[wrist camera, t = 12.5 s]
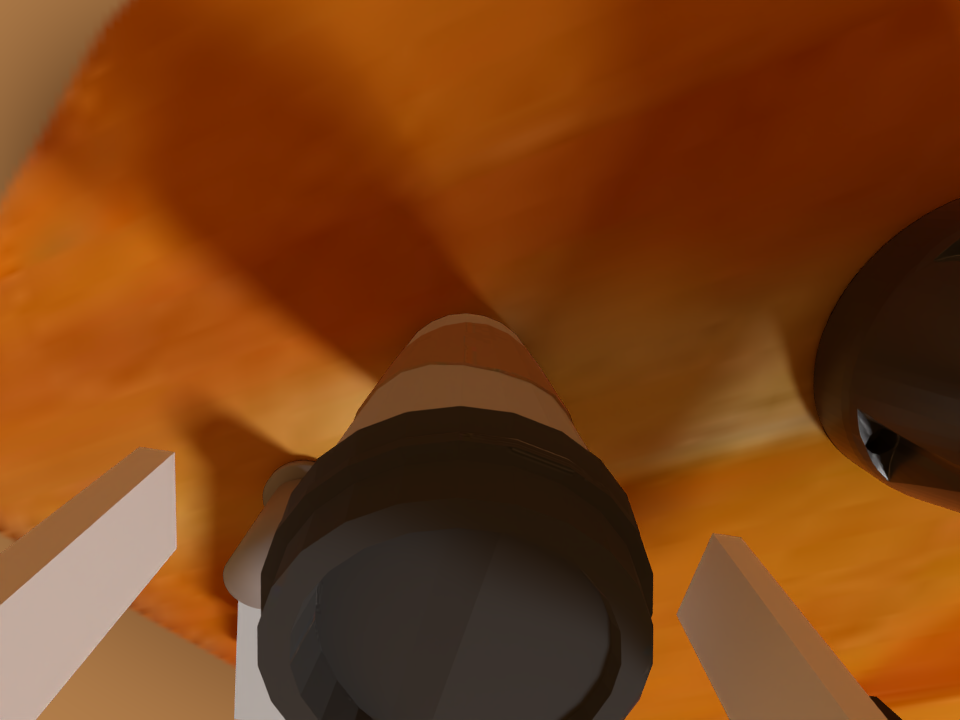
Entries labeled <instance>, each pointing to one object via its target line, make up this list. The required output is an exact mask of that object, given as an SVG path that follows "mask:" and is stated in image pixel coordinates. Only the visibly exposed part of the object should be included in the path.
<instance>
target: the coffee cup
mask: <svg viewBox="0 0 960 720" xmlns="http://www.w3.org/2000/svg"><path fill="white" fill-rule="evenodd" d="M652 614H653V572H652V569H651V566H650V563H649V560H648V558H647V555H646V552H645V549H644V546H643V543H642V540H641V537H640V532H639V530H638V527H637V524H636V521H635V518H634V515H633V512H632V509H631V506H630V503H629V500H628V497H627V495H626V493H625V492H624V491H623V489H622V488H621V487H620V485H619V484H618V483H617V481H616V480H615V479H614V477H613V476H612V475H611V473H610V472H609V471H608V469H607V468H606V467H605V465H604V464H603V463H602V461H601V460H600V459H599V458H597V457H596V456H595V455H593V454H592V453H590V452H589V450H588V449H587V447H586V445H585V444H584V442H583V440H582V439H581V437H580V436H579V434H578V432H577V431H576V429H575V427H574V425H573V422H572V419H571V416H570V414H569V412H568V410H567V409H566V407H565V406H564V404H563V403H562V401H561V400H560V398H559V396H558V395H557V393H556V392H555V390H554V389H553V387H552V385H551V384H550V382H549V381H548V379H547V378H546V376H545V374H544V373H543V371H542V370H541V368H540V367H539V365H538V364H537V362H536V361H535V360H534V358H533V357H532V356H531V354H530V353H529V352H528V350H527V349H526V348H525V346H524V345H523V344H522V342H521V341H520V340H519V338H518V337H517V336H516V334H515V333H514V332H512V331H511V330H510V329H508V328H507V327H506V326H504V325H503V324H502V323H500V322H498V321H495V320H493V319H490V318H488V317H486V316H481V315H474V314H468V313H465V314H455V315H448V316H445V317H443V318H440V319H437V320H435V321H432V322H431V323H429V324H428V325H426V326H425V327H424V328H422V329H421V330H420V331H418V332H417V333H416V335H415V336H414V337H413V338H412V340H411V341H410V342H409V344H408V345H407V346H406V347H405V348H404V349H403V350H402V351H401V353H400V354H399V355H398V357H397V358H396V359H395V360H394V362H393V363H392V364H391V366H390V367H389V368H388V370H387V371H386V372H385V374H384V375H383V377H382V378H381V379H380V381H379V382H378V383H377V385H376V386H375V388H374V389H373V390H372V392H371V393H370V394H369V396H368V397H367V399H366V400H365V401H364V403H363V404H362V405H361V407H360V408H359V410H358V411H357V414H356V416H355V419H354V421H353V423H352V424H351V425H350V427H349V428H348V430H347V431H346V432H345V434H344V435H343V437H342V438H341V439H340V441H339V442H338V444H337V445H336V446H335V447H333V448H332V449H330V450H329V451H328V452H326V453H325V454H323V455H322V456H321V457H319V458H318V459H317V461H316V462H315V463H314V464H313V466H312V467H311V468H310V470H309V471H308V472H307V473H306V475H305V476H304V477H303V479H302V480H301V481H300V482H299V484H298V485H297V486H296V488H295V489H294V490H293V491H292V493H291V495H290V498H289V500H288V503H287V506H286V509H285V512H284V514H283V517H282V520H281V522H280V523H279V525H278V527H277V529H276V532H275V534H274V537H273V540H272V543H271V546H270V548H269V551H268V554H267V557H266V560H265V563H264V565H263V568H262V571H261V617H260V620H259V623H258V625H257V662H258V668H259V671H260V673H261V676H262V679H263V681H264V684H265V687H266V689H267V692H268V695H269V697H270V700H271V702H272V703H273V705H274V706H275V707H276V708H277V710H278V711H279V712H280V714H281V715H282V716H283V717H284V719H285V720H624V719H625V718H626V716H627V715H628V714H629V712H630V711H631V710H632V708H633V707H634V706H635V705H636V703H637V702H638V701H639V699H640V697H641V694H642V691H643V688H644V686H645V683H646V680H647V678H648V675H649V672H650V670H651V667H652V664H653V623H652V620H651V617H652Z"/></svg>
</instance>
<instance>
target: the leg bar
mask: <svg viewBox="0 0 960 720" xmlns="http://www.w3.org/2000/svg"><path fill="white" fill-rule="evenodd" d="M301 480H302V479H294V480H290V481H287V482H285V483H283V484H282V485H280V486H279V487H278V488H277V489H276V491H275V492H274V494H273V495H272V497H271V498H270V500H269V501H268V503H267V504H266V506H265V507H264V509H263V510H262V511H261V513H260V514H259V516H258V517H257V519H256V520H255V522H254V523H253V525H252V526H251V528H250V529H249V531H248V532H247V534H246V535H245V537H244V538H243V540H242V541H241V543H240V544H239V546H238V547H237V549H236V550H235V552H234V553H233V555H232V556H231V558H230V559H229V560H228V562H227V563H226V565H225V567H224V571H223V580H224V584H225V586H226V588H227V590H228V591H229V592H230V594H231V595H232V596H233V597H234V598H235V599H237V600H238V623H237V653H236V684H235V685H236V686H235V715H234V718H235V719H240V720H285V719H284V717H283V716H282V715H281V714H280V712H279V711H278V710H277V708H276V707H275V706H274V705H273V703H272V702H271V700H270V697H269V695H268V692H267V689H266V687H265V684H264V681H263V679H262V676H261V673H260V671H259V668H258V662H257V625H258V623H259V620H260V617H261V571H262V568H263V565H264V563H265V560H266V557H267V554H268V551H269V548H270V546H271V543H272V540H273V537H274V534H275V532H276V529H277V527H278V525H279V523H280V522H281V520H282V517H283V514H284V512H285V509H286V506H287V503H288V500H289V498H290V495H291V493H292V491H293V490H294V489H295V488H296V486H297V485H298V484H299V482H300V481H301Z"/></svg>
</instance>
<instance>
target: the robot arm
mask: <svg viewBox="0 0 960 720" xmlns="http://www.w3.org/2000/svg"><path fill="white" fill-rule="evenodd" d="M814 396H815V403H816V407H817V412H818V415H819V418H820V421H821V423H822V425H823V428H824V430H825V432H826V433H827V435H828V437H829V438H830V440H831V441H832V442H833V444H834V445H835V446H836V447H837V448H838V450H839V451H840V452H841V453H842V454H844V455H845V456H846V457H847V458H848V459H850V460H851V461H852V462H854V463H855V464H857V465H858V466H859V467H861V468H862V469H864V470H865V471H867V472H868V473H870V474H871V475H873V476H874V477H876V478H877V479H879V480H880V481H881V482H883V483H885V484H886V485H888V486H890V487H892V488H894V489H896V490H898V491H900V492H902V493H904V494H906V495H908V496H911V497H914V498H916V499H919V500H922V501H926V502H929V503H932V504H935V505H938V506H941V507H944V508H947V509H950V510H953V511H956V512H960V198H959V199H957V200H955V201H952V202H950V203H948V204H946V205H944V206H942V207H940V208H938V209H936V210H934V211H932V212H930V213H929V214H927V215H925V216H924V217H922V218H920V219H919V220H917V221H916V222H914V223H913V224H911V225H910V226H908V227H907V228H906V229H904V230H903V231H902V232H900V233H899V234H898V235H896V236H895V237H894V238H893V239H892V240H890V241H889V242H888V243H887V244H886V245H885V246H883V247H882V248H881V249H880V250H879V251H878V252H877V253H876V254H875V255H874V256H873V257H872V258H871V259H870V260H869V261H868V262H867V263H866V265H865V266H864V267H863V268H862V269H861V270H860V272H859V273H858V274H857V275H856V276H855V278H854V279H853V280H852V282H851V283H850V284H849V286H848V287H847V289H846V290H845V292H844V293H843V295H842V296H841V298H840V300H839V301H838V303H837V305H836V307H835V308H834V310H833V312H832V314H831V316H830V318H829V320H828V323H827V325H826V328H825V330H824V333H823V335H822V338H821V341H820V345H819V349H818V352H817V357H816V363H815V371H814ZM176 549H177V542H176V493H175V452H170V451H163V450H157V449H150V448H143V447H139V448H137V449H136V450H135V451H133V452H132V453H131V454H130V455H128V456H127V457H126V458H124V459H123V460H122V461H120V462H119V463H118V464H117V465H115V466H114V467H113V468H111V469H110V470H109V471H107V472H106V473H105V474H103V475H102V476H101V477H100V478H98V479H97V480H96V481H94V482H93V483H92V484H90V485H89V486H88V487H86V488H85V489H84V490H83V491H81V492H80V493H79V494H77V495H76V496H75V497H73V498H72V499H71V500H70V501H68V502H67V503H66V504H64V505H63V506H62V507H60V508H59V509H58V510H56V511H55V512H54V513H53V514H51V515H50V516H49V517H47V518H46V519H45V520H43V521H42V522H41V523H40V524H38V525H37V526H36V527H34V528H33V529H32V530H30V531H29V532H28V533H26V534H25V535H24V536H23V537H21V538H20V539H19V540H17V541H16V542H15V543H13V544H12V545H11V546H10V547H8V548H7V549H6V550H4V551H3V552H2V553H0V720H36V719H37V717H38V716H39V715H40V714H41V713H42V711H43V710H44V709H45V708H46V707H47V705H48V704H49V703H50V702H51V700H52V699H53V698H54V697H55V696H56V694H57V693H58V692H59V691H60V690H61V688H62V687H63V686H64V685H65V684H66V682H67V681H68V680H69V678H70V677H71V676H72V675H73V674H74V673H75V671H76V670H77V669H78V668H79V667H80V665H81V664H82V663H83V662H84V660H85V659H86V658H87V657H88V656H89V654H90V653H91V652H92V651H93V650H94V648H95V647H96V646H97V645H98V643H99V642H100V641H101V640H102V638H103V637H104V636H105V635H106V634H107V632H108V631H109V630H110V629H111V628H112V626H113V625H114V624H115V623H116V622H117V620H118V619H119V618H120V617H121V615H122V614H123V613H124V612H125V611H126V609H127V608H128V607H129V606H130V605H131V603H132V602H133V601H134V600H135V598H136V597H137V596H138V595H139V594H140V592H141V591H142V590H143V589H144V588H145V586H146V585H147V584H148V583H149V581H150V580H151V579H152V578H153V577H154V575H155V574H156V573H157V572H158V570H159V569H160V568H161V567H162V566H163V564H164V563H165V562H166V561H167V560H168V558H169V557H170V556H171V555H172V553H173V552H174V551H175V550H176ZM677 616H678V618H679V620H680V622H681V624H682V626H683V628H684V630H685V632H686V634H687V636H688V638H689V640H690V642H691V644H692V646H693V648H694V650H695V652H696V654H697V656H698V658H699V660H700V662H701V664H702V666H703V668H704V670H705V672H706V674H707V676H708V678H709V680H710V682H711V684H712V686H713V688H714V690H715V692H716V694H717V696H718V698H719V700H720V702H721V703H722V705H723V707H724V709H725V711H726V713H727V715H728V717H729V719H730V720H902V719H901V718H900V717H899V716H898V715H896V714H895V713H894V712H893V711H892V710H891V709H890V708H889V707H887V706H886V705H885V704H884V703H883V702H882V701H881V700H879V699H878V698H877V697H874V696H868V695H867V693H866V692H865V691H864V690H863V688H862V687H861V686H860V685H859V683H858V682H857V681H856V680H855V678H854V677H853V676H852V675H851V673H850V672H849V671H848V670H847V669H846V667H845V666H844V665H843V664H842V662H841V661H840V660H839V659H838V657H837V656H836V655H835V654H834V652H833V651H832V650H831V649H830V647H829V646H828V645H827V644H826V642H825V641H824V640H823V639H822V638H821V636H820V635H819V634H818V633H817V631H816V630H815V629H814V628H813V626H812V625H811V624H810V623H809V621H808V620H807V619H806V618H805V616H804V615H803V614H802V613H801V612H800V610H799V609H798V608H797V607H796V605H795V604H794V603H793V602H792V600H791V599H790V598H789V597H788V595H787V594H786V593H785V592H784V590H783V589H782V588H781V587H780V585H779V584H778V583H777V582H776V581H775V579H774V578H773V577H772V576H771V574H770V573H769V572H768V571H767V569H766V568H765V567H764V566H763V564H762V563H761V562H760V561H759V559H758V558H757V557H756V556H755V554H754V553H753V552H752V551H751V550H750V548H749V547H748V546H747V545H746V543H745V542H744V541H743V540H742V538H741V537H734V536H728V535H721V534H714V533H713V534H712V536H711V538H710V541H709V543H708V545H707V547H706V550H705V552H704V554H703V556H702V559H701V561H700V563H699V565H698V568H697V570H696V572H695V574H694V577H693V579H692V581H691V583H690V586H689V588H688V590H687V592H686V595H685V597H684V599H683V601H682V604H681V606H680V608H679V610H678V613H677Z"/></svg>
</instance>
